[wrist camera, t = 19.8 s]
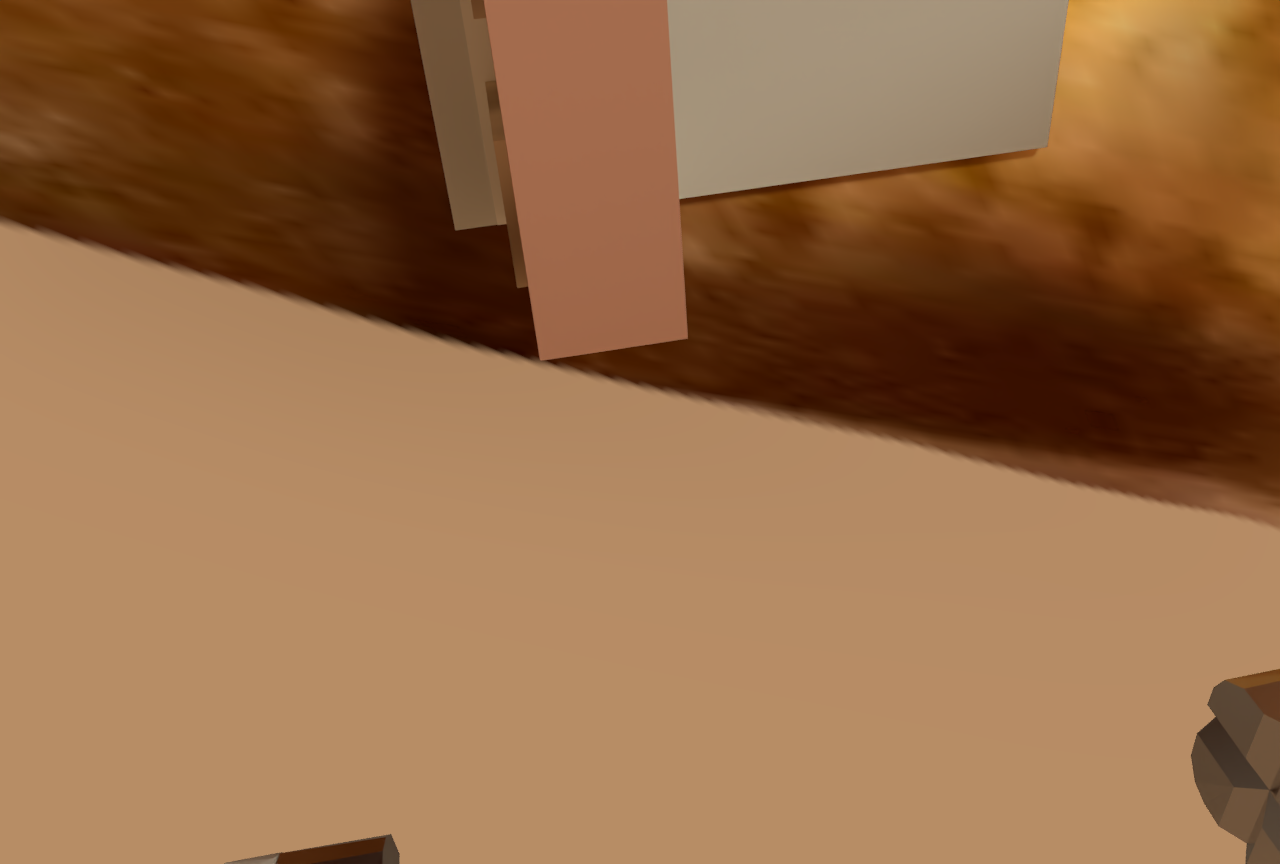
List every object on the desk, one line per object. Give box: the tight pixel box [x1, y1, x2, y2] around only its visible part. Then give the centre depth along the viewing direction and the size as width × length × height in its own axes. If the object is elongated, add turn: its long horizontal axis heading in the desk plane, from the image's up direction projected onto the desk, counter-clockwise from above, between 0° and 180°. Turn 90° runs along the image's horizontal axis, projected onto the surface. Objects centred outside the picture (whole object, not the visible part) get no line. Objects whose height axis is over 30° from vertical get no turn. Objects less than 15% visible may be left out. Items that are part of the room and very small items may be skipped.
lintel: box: [483, 0, 688, 361], centre depth 27 cm, size 4×12×4 cm, turn 5°
